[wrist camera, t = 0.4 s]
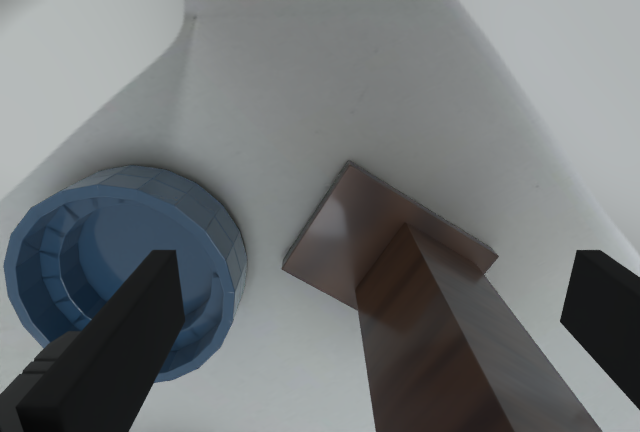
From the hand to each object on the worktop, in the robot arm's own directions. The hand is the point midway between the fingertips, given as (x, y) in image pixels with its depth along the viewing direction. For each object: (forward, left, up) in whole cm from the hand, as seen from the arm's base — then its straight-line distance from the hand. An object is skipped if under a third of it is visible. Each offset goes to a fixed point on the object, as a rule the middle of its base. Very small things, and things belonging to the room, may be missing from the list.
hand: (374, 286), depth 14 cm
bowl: (0, -18, -19) cm, 26 cm away
